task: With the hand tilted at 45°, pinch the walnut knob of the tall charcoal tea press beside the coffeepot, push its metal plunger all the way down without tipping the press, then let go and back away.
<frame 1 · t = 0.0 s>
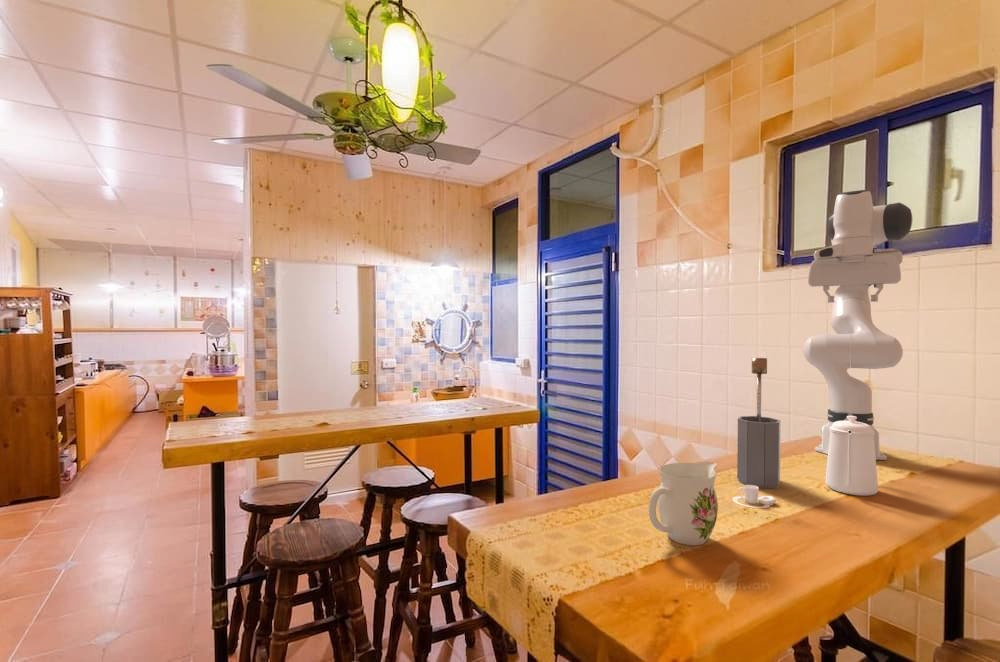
hand: (852, 302, 132), 48 cm above the table, tool pointing down, fingers open, 8 cm apart
plunger: (759, 402, 130), point 21 cm above the table, slide at 8.0 cm
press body: (758, 482, 130), on the table
pitcher: (683, 540, 96), on the table
coffeepot: (850, 491, 124), on the table
teacup and saucer: (761, 509, 113), on the table
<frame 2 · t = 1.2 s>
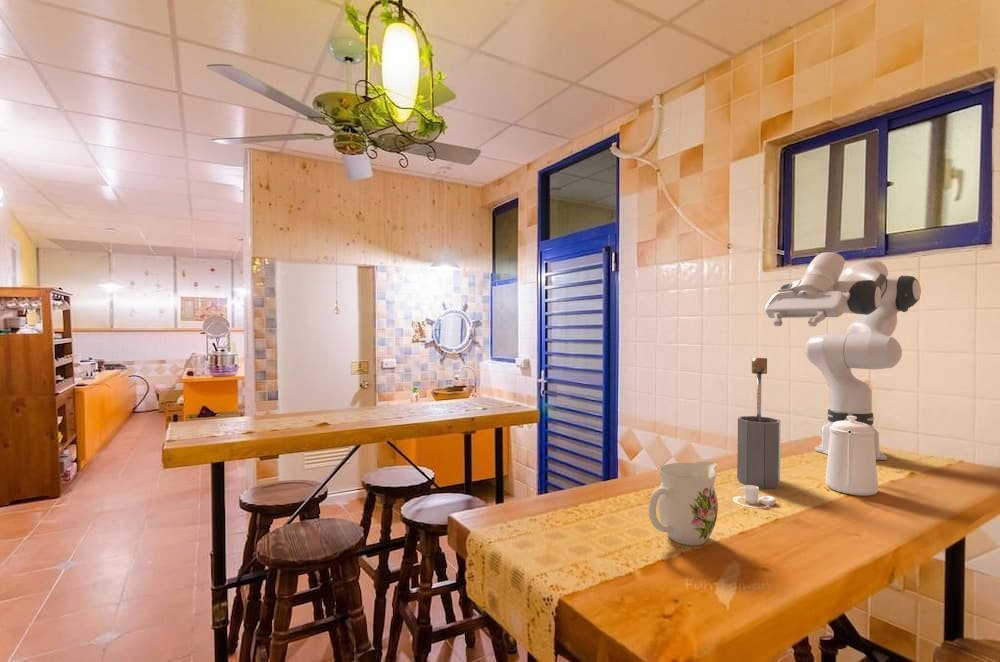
hand: (793, 324, 139), 42 cm above the table, tool tilted 45°, fingers open, 8 cm apart
nothing on the table moved.
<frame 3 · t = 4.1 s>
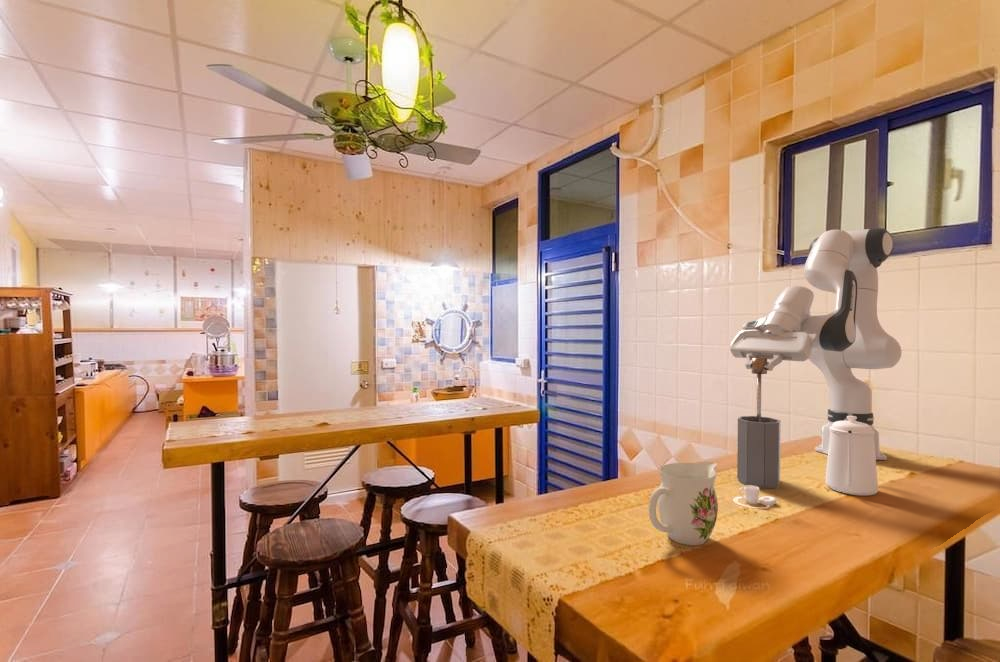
hand: (757, 368, 129), 30 cm above the table, tool tilted 45°, fingers closed on plunger, 4 cm apart
plunger: (759, 403, 130), point 21 cm above the table, slide at 8.0 cm, touching gripper
everything else where it was.
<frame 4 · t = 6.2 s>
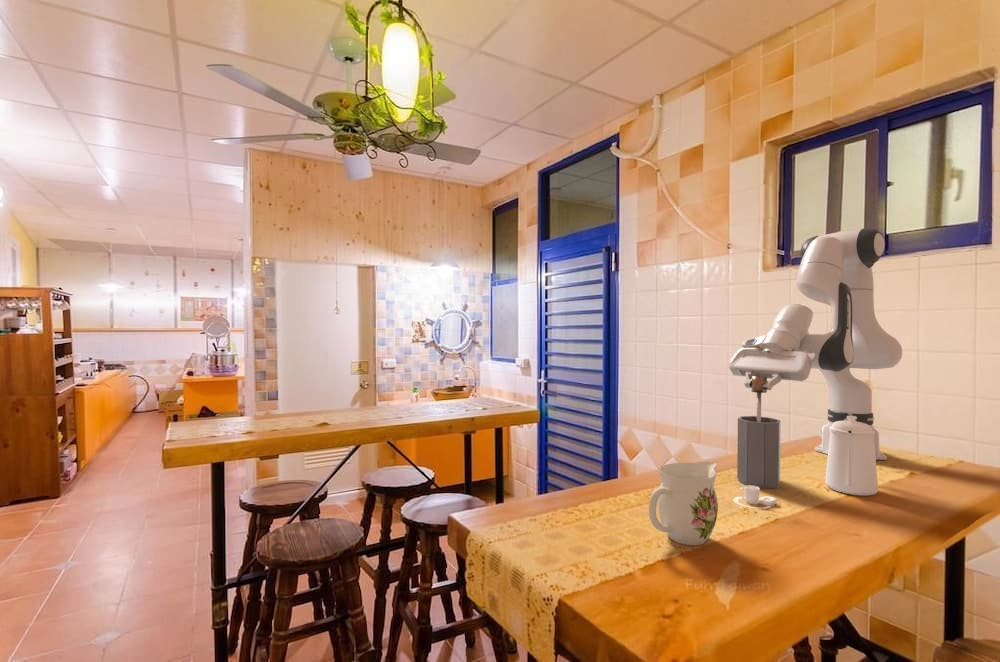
hand: (757, 387, 129), 25 cm above the table, tool tilted 45°, fingers closed on plunger, 4 cm apart
plunger: (758, 421, 130), point 16 cm above the table, slide at 3.1 cm, touching gripper
everything else where it was.
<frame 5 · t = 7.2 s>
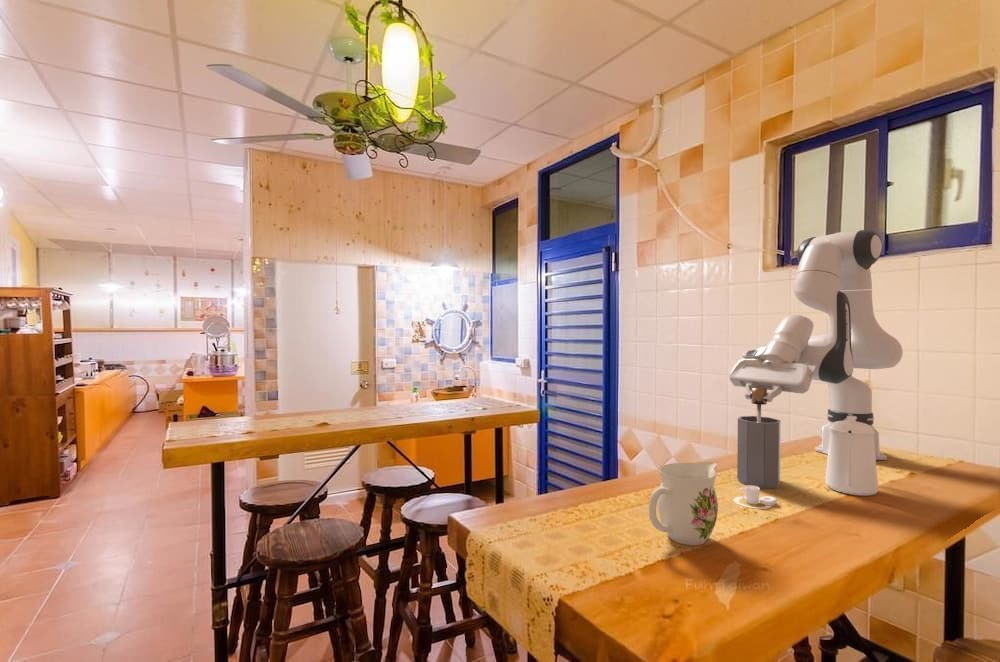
hand: (757, 399, 129), 22 cm above the table, tool tilted 45°, fingers closed on plunger, 4 cm apart
plunger: (758, 433, 130), point 13 cm above the table, slide at 0.0 cm, touching gripper
everything else where it was.
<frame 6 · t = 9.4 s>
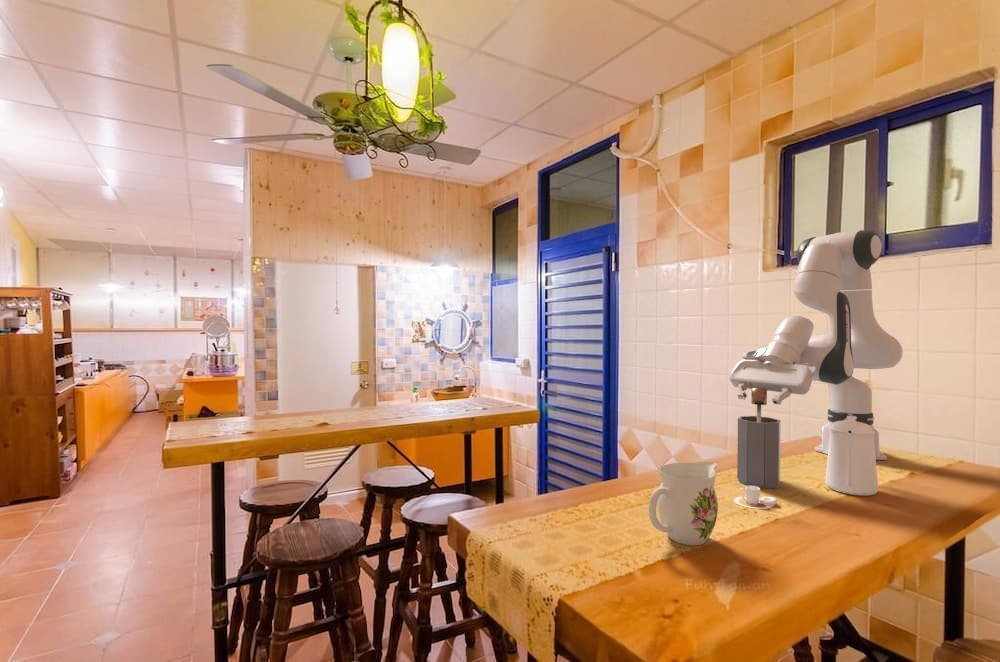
hand: (757, 400, 130), 22 cm above the table, tool tilted 45°, fingers open, 8 cm apart
plunger: (758, 433, 130), point 13 cm above the table, slide at -0.1 cm
everything else where it was.
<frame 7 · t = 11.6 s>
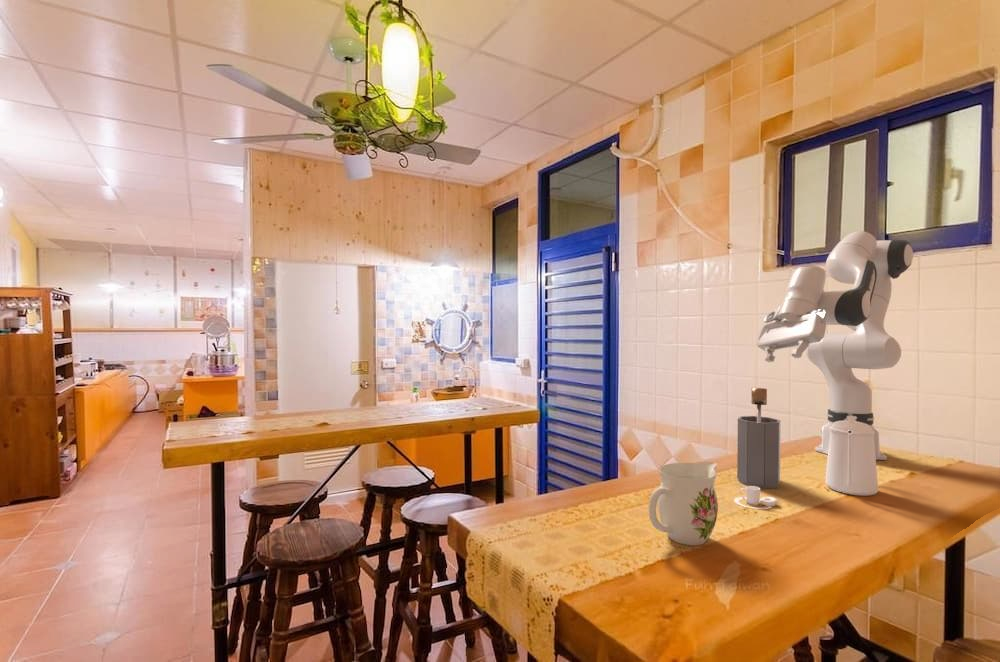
hand: (781, 359, 134), 32 cm above the table, tool tilted 30°, fingers open, 8 cm apart
nothing on the table moved.
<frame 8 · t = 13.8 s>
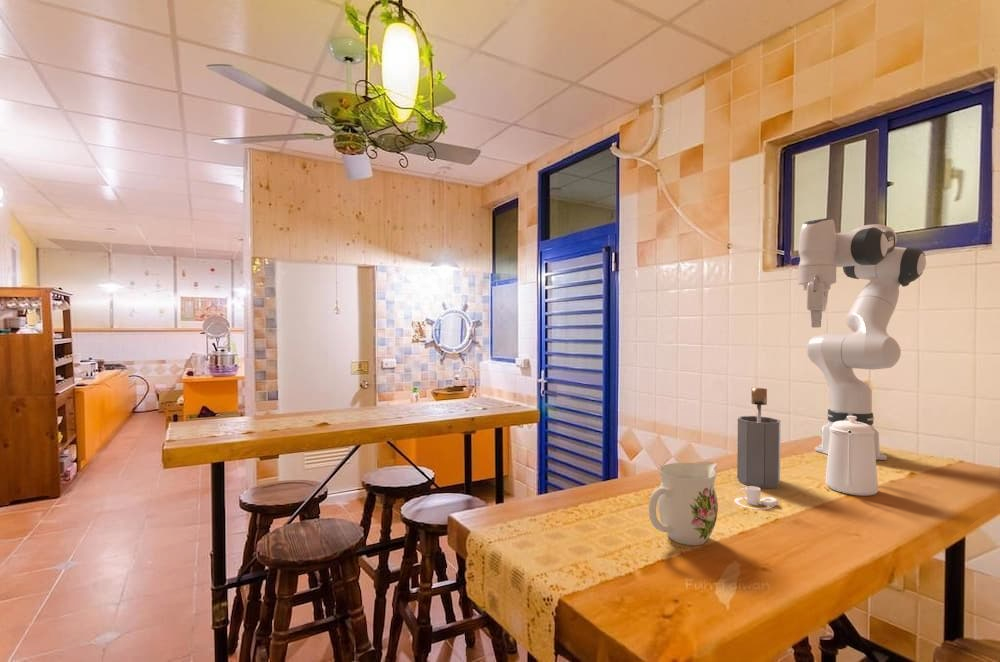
hand: (816, 327, 136), 41 cm above the table, tool pointing down, fingers open, 8 cm apart
nothing on the table moved.
at the end: plunger slide at -0.1 cm; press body tilted 0°; the gripper is holding nothing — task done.
